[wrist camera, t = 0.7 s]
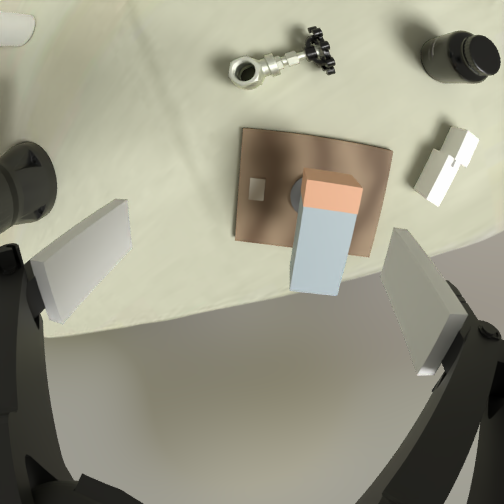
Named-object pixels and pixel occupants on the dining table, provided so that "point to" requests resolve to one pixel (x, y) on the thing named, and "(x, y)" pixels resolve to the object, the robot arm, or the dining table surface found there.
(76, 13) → the dining table surface
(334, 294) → the blue-orange block
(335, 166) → the board
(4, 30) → the can
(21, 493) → the robot arm
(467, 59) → the supplement bottle
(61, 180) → the dining table surface
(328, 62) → the valve
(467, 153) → the white stepped block
